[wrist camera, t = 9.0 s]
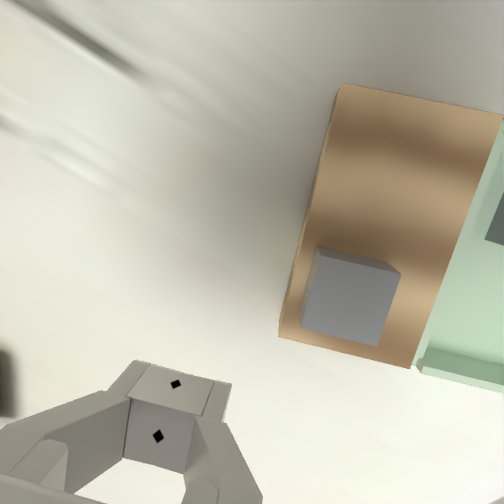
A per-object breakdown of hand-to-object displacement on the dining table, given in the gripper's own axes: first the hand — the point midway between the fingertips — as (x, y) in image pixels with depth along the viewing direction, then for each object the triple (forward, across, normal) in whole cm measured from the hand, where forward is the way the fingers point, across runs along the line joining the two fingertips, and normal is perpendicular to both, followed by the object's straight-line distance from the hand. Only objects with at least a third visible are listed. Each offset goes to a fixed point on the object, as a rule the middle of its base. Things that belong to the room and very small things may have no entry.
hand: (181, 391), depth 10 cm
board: (+18, -9, -4) cm, 20 cm away
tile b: (+15, -7, 0) cm, 16 cm away
